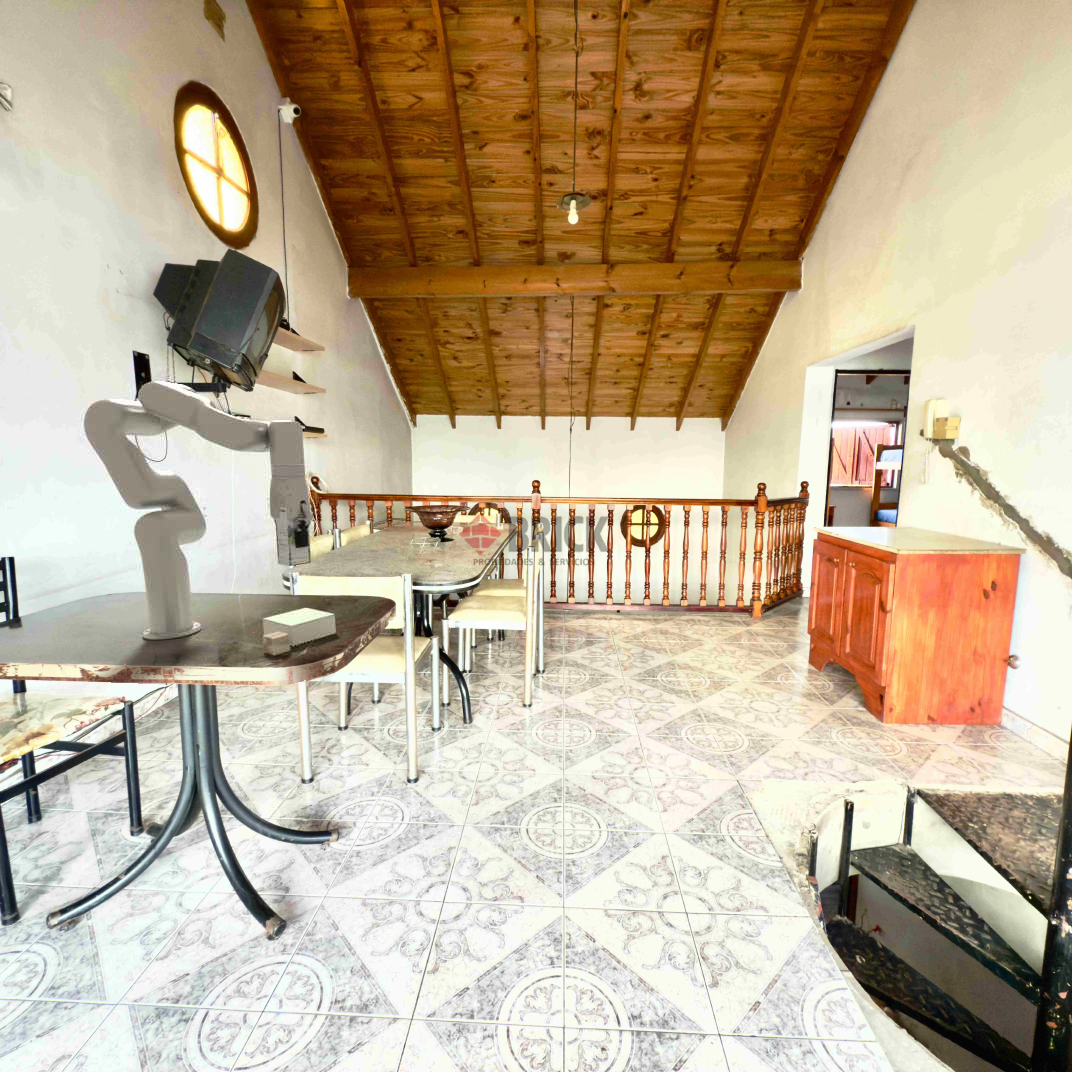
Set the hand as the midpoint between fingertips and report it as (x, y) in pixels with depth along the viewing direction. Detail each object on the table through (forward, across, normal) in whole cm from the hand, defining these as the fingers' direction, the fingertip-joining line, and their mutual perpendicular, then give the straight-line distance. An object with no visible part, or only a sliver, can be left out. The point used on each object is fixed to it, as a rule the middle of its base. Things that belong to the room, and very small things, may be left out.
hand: (293, 545), depth 139 cm
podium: (+23, 0, 0) cm, 23 cm away
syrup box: (+5, 0, 0) cm, 5 cm away
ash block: (+23, +6, -10) cm, 26 cm away
